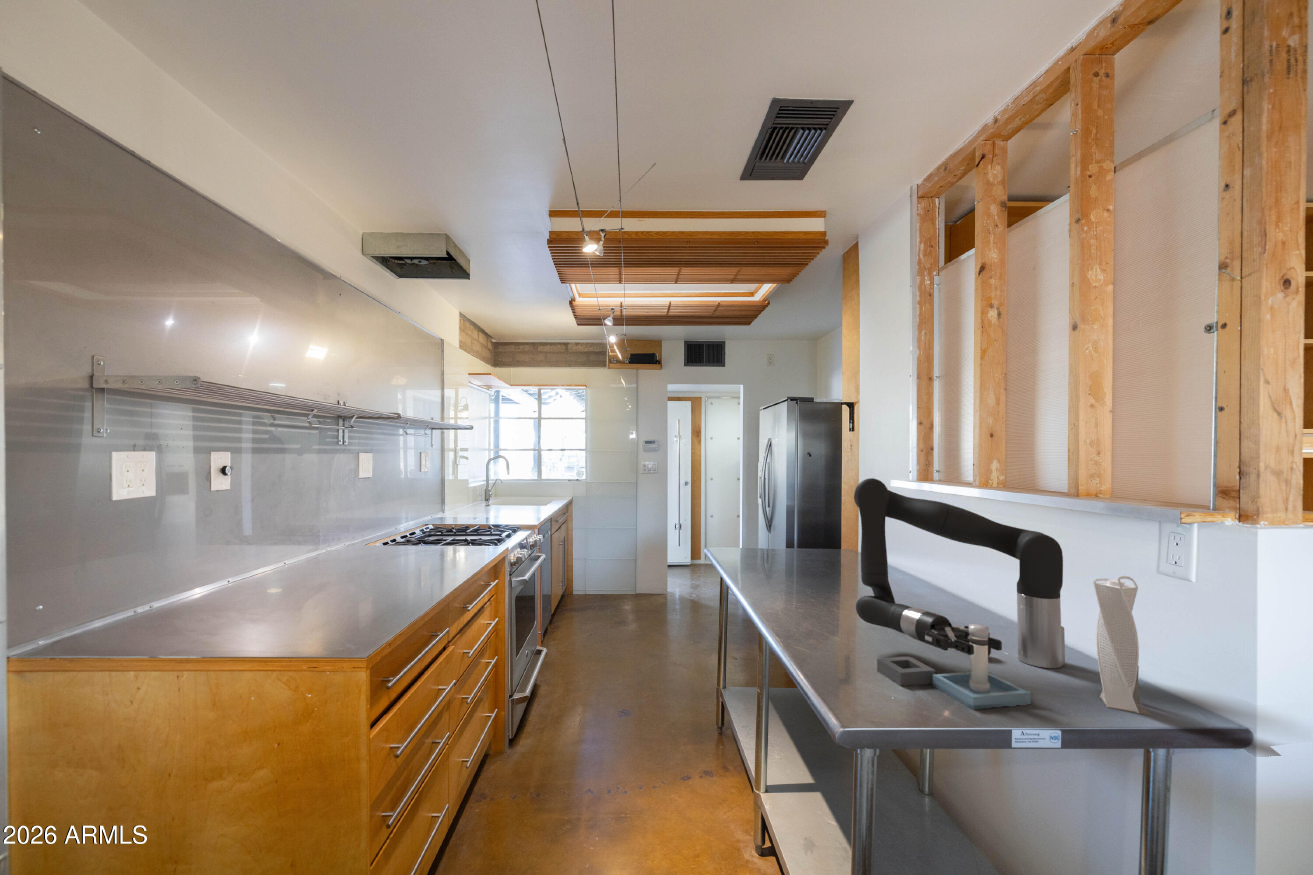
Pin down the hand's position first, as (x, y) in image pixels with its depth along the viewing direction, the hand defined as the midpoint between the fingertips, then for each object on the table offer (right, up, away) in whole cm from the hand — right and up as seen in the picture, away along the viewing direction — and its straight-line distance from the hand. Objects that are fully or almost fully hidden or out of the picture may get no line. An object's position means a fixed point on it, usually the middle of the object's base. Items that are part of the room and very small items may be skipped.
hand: (987, 648), depth 116 cm
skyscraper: (+27, -11, -3) cm, 29 cm away
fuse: (-1, -10, +1) cm, 10 cm away
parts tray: (-1, -11, +1) cm, 11 cm away
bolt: (+12, -13, +31) cm, 35 cm away
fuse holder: (-13, -11, +11) cm, 20 cm away
